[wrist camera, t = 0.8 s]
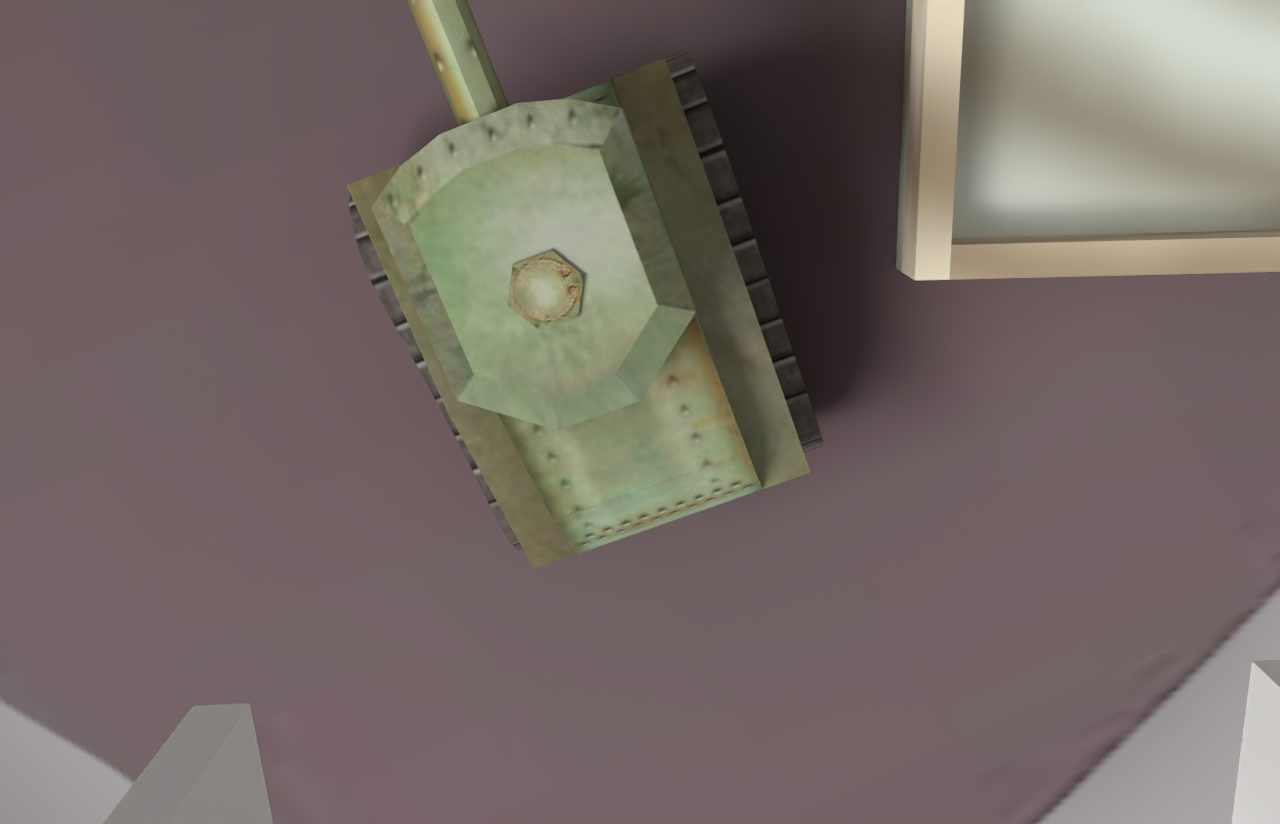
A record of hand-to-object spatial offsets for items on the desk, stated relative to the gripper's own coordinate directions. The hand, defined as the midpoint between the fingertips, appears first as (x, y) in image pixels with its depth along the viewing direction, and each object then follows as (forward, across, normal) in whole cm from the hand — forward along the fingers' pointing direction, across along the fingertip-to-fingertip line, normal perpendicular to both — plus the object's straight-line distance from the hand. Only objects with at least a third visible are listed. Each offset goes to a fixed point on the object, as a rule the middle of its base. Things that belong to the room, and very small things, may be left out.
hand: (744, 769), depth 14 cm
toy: (+21, -4, +5) cm, 22 cm away
